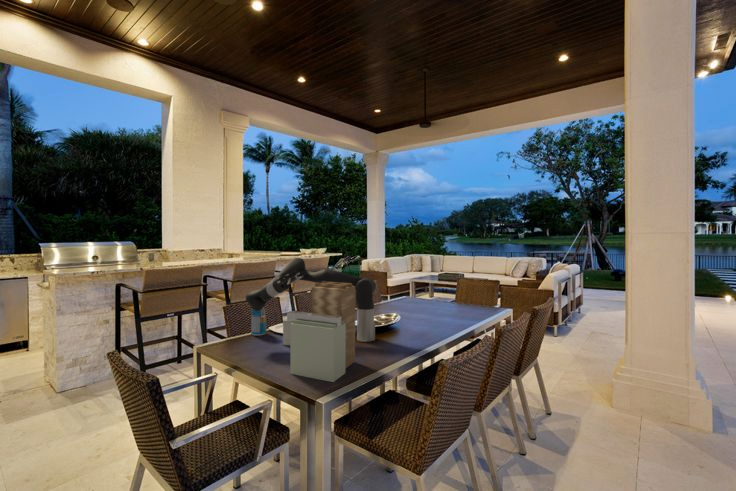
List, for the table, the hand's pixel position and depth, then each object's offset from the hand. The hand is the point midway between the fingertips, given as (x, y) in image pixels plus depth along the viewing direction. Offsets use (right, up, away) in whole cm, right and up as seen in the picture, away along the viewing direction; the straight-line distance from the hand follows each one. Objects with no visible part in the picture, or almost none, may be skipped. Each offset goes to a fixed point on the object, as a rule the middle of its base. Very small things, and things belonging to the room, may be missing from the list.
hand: (301, 271), depth 171 cm
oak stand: (+17, -39, -14) cm, 45 cm away
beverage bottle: (-30, -38, +33) cm, 59 cm away
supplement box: (-7, -39, +15) cm, 42 cm away
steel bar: (+10, -19, -25) cm, 33 cm away
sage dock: (+12, -40, -26) cm, 49 cm away
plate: (-12, -39, +42) cm, 59 cm away
